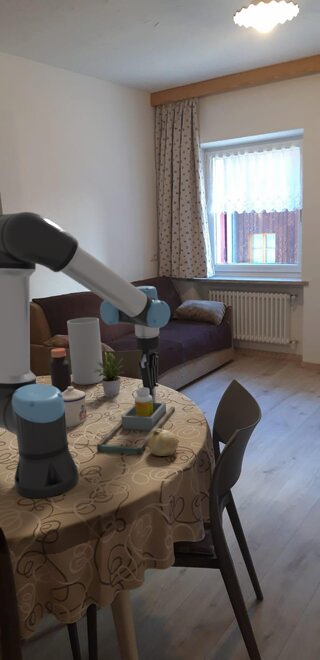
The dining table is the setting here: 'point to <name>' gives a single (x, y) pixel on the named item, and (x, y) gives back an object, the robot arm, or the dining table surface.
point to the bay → (130, 450)
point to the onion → (162, 442)
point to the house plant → (110, 376)
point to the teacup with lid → (74, 406)
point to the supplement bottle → (143, 403)
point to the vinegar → (60, 370)
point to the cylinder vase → (85, 350)
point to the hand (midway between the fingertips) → (152, 407)
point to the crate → (143, 418)
